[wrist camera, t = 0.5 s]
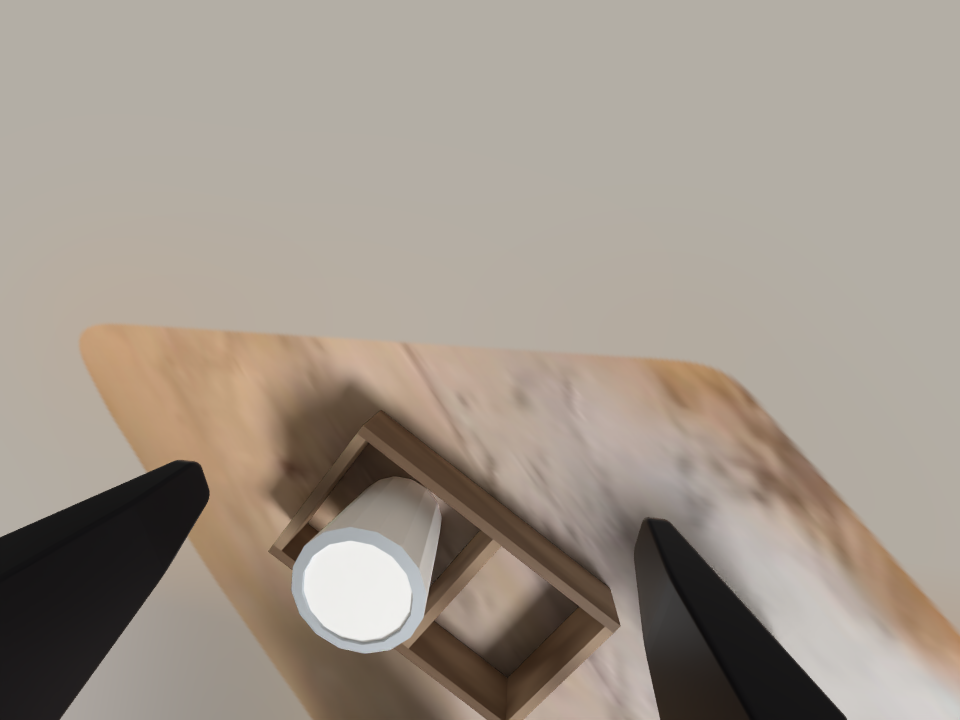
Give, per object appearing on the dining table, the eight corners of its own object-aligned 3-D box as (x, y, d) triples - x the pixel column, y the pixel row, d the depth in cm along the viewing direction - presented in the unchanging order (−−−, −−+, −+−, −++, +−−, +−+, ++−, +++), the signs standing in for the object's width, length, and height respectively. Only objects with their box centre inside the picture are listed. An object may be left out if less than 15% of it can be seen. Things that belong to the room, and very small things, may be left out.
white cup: (405, 584, 28) (366, 680, 21) (327, 517, 28) (262, 591, 21) (473, 517, 27) (455, 596, 20) (392, 445, 27) (345, 500, 20)
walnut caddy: (509, 689, 28) (507, 735, 26) (295, 524, 28) (268, 551, 25) (610, 588, 27) (620, 626, 24) (381, 410, 26) (362, 425, 23)
